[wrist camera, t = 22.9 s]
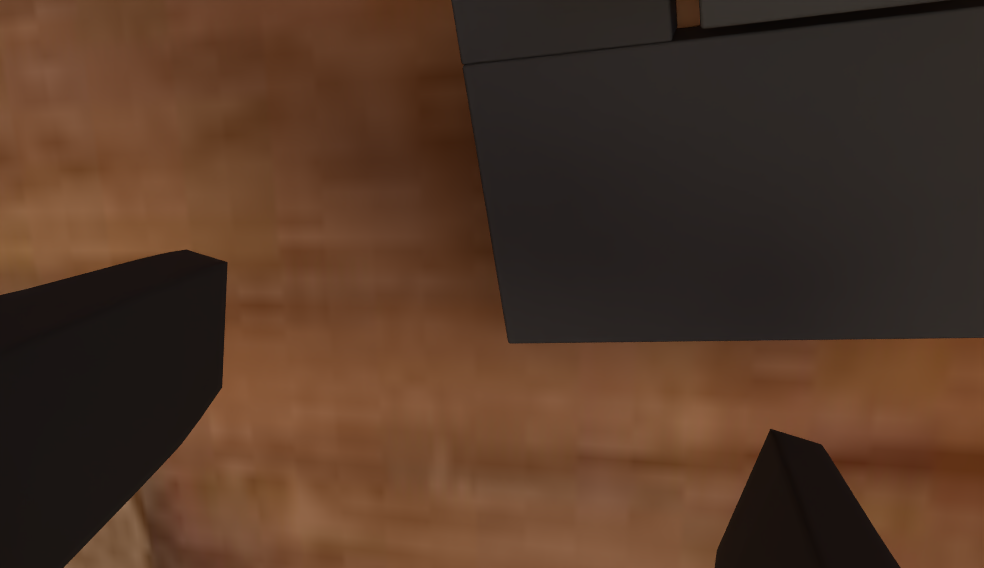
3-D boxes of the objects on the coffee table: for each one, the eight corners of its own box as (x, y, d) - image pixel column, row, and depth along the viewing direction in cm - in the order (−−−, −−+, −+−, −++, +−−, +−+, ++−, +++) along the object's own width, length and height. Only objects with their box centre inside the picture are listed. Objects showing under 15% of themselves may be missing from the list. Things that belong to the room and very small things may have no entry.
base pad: (522, 315, 21) (507, 344, 20) (435, -243, 16) (408, -252, 15) (1083, 302, 18) (1110, 337, 16) (1183, -414, 13) (1235, -446, 11)
